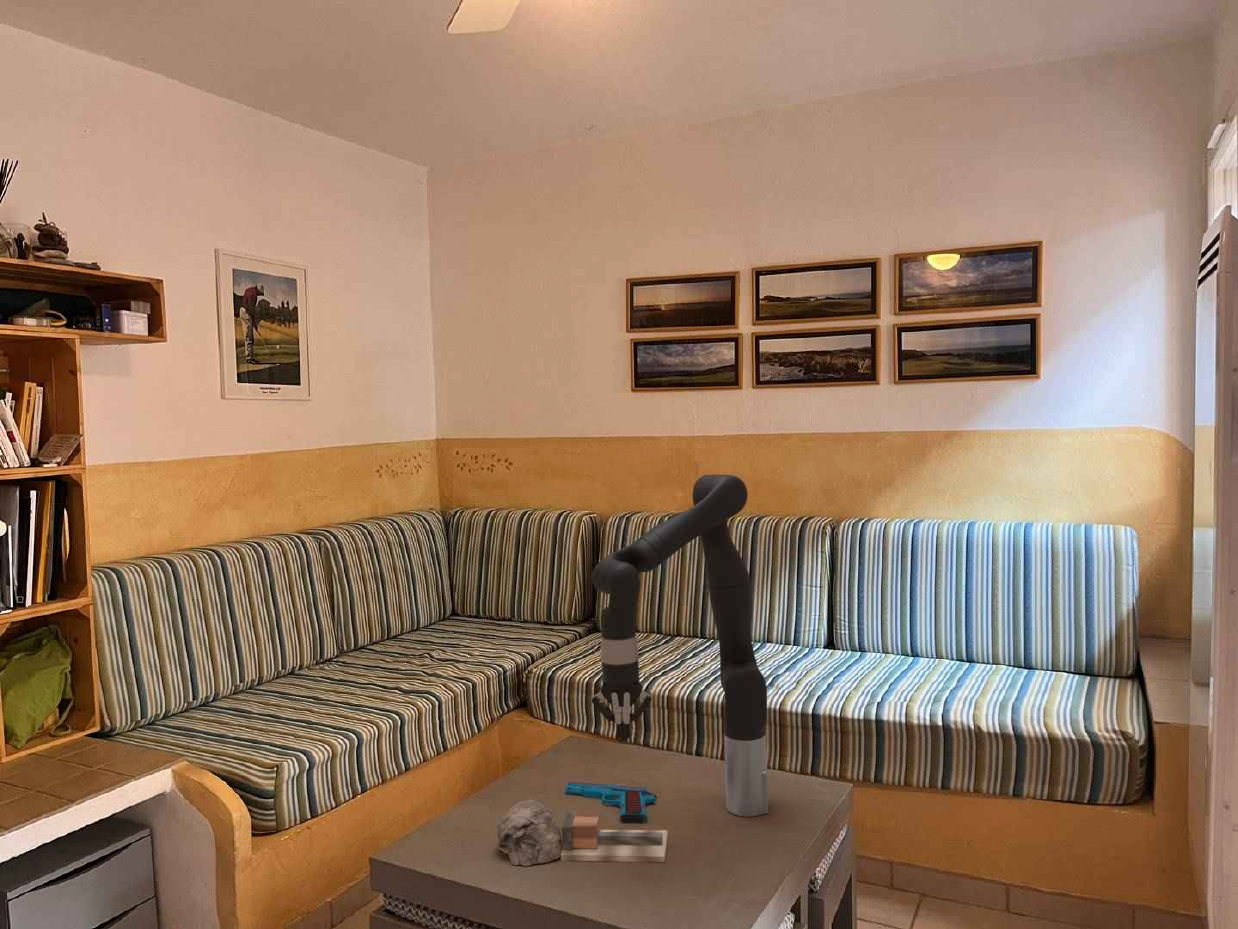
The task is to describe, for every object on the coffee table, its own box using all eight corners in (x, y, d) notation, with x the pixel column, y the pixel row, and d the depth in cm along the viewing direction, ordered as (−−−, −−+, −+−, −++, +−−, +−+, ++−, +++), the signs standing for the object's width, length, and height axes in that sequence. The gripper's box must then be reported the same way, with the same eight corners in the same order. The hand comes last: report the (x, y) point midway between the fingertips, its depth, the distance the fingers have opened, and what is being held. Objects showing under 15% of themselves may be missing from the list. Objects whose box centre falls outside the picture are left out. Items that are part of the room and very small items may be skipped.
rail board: (667, 836, 200) (666, 808, 199) (664, 862, 189) (663, 833, 188) (569, 834, 202) (568, 807, 201) (561, 860, 191) (559, 832, 191)
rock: (575, 847, 197) (573, 800, 196) (544, 874, 186) (542, 825, 185) (516, 833, 204) (514, 788, 203) (482, 859, 193) (480, 812, 193)
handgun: (645, 827, 205) (663, 797, 219) (645, 815, 204) (662, 785, 219) (548, 819, 212) (571, 790, 226) (547, 807, 211) (570, 778, 226)
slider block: (600, 834, 198) (599, 813, 198) (597, 848, 193) (596, 826, 192) (577, 834, 199) (576, 813, 199) (572, 848, 193) (571, 826, 193)
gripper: (653, 651, 195) (657, 733, 196) (590, 653, 196) (594, 733, 198) (650, 662, 188) (655, 746, 189) (585, 663, 189) (589, 747, 190)
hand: (624, 740), depth 193 cm, fingers closed
